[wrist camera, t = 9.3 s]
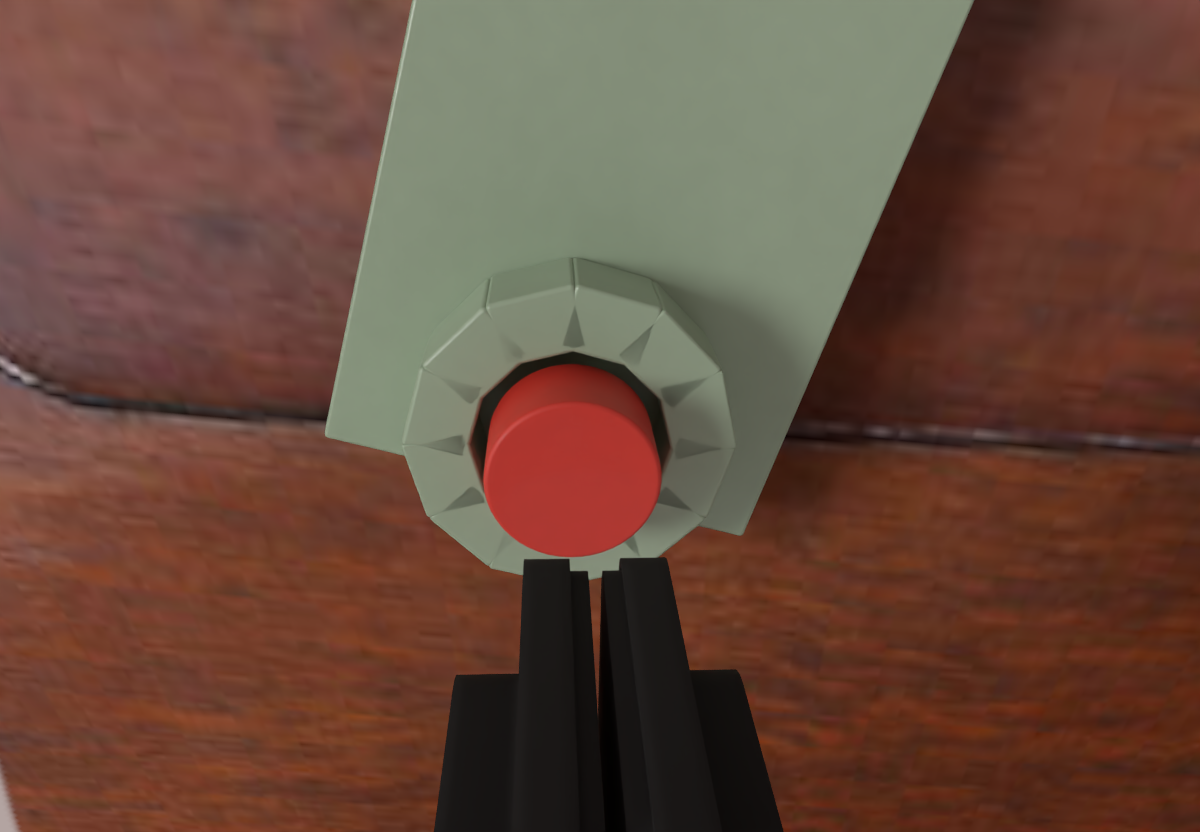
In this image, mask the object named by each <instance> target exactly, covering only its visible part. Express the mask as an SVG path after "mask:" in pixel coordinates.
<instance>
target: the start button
mask: <svg viewBox="0 0 1200 832" xmlns="http://www.w3.org/2000/svg"><path fill="white" fill-rule="evenodd" d="M483 483H484V492H485V496H486V500H487V503H488V506H489V508H490V510H491V512H492V514H493V516H494V517H495V519H496V520H497V522H498V523H499V524H500V525H501V527H502V528H503V529H504V530H505V531H506V532H507V533H508V534H509V535H510V536H511V537H513V538H514V539H515V540H517V541H518V542H519V543H521V544H523V545H525V546H526V547H528V548H530V549H533V550H535V551H538V552H541V553H544V554H548V555H553V556H559V557H584V556H590V555H595V554H598V553H602V552H605V551H607V550H610V549H612V548H614V547H616V546H618V545H620V544H622V543H623V542H625V541H626V540H627V539H629V538H630V537H632V536H633V535H634V534H635V533H636V532H637V531H638V530H639V529H640V528H641V527H642V526H643V525H644V523H645V522H646V521H647V520H648V518H649V516H650V515H651V513H652V512H653V510H654V508H655V506H656V503H657V501H658V497H659V494H660V490H661V483H662V471H661V465H660V459H659V455H658V451H657V447H656V443H655V439H654V435H653V431H652V426H651V422H650V419H649V416H648V412H647V410H646V408H645V406H644V404H643V402H642V401H641V399H640V398H639V396H638V395H637V394H636V393H635V391H634V390H633V389H632V388H631V387H630V386H629V385H627V384H626V383H625V382H624V381H623V380H621V379H620V378H618V377H617V376H615V375H613V374H611V373H609V372H607V371H605V370H602V369H599V368H596V367H592V366H587V365H579V364H563V365H556V366H550V367H547V368H544V369H540V370H538V371H536V372H533V373H531V374H529V375H527V376H526V377H524V378H522V379H521V380H520V381H518V382H517V383H516V384H514V385H513V386H512V387H511V388H510V389H509V390H508V391H507V392H506V393H505V395H504V396H503V397H502V399H501V400H500V401H499V403H498V405H497V407H496V409H495V411H494V413H493V416H492V419H491V422H490V427H489V434H488V442H487V450H486V458H485V466H484V477H483Z"/></svg>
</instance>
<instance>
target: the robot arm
mask: <svg viewBox="0 0 1200 832" xmlns="http://www.w3.org/2000/svg"><path fill="white" fill-rule="evenodd" d="M434 832H783V828H782V824H781V821H780V817H779V813H778V810H777V806H776V802H775V799H774V795H773V791H772V788H771V784H770V781H769V777H768V773H767V770H766V766H765V762H764V759H763V755H762V751H761V748H760V744H759V740H758V737H757V733H756V729H755V726H754V722H753V718H752V715H751V711H750V707H749V704H748V700H747V696H746V693H745V689H744V685H743V682H742V680H741V677H740V674H739V673H738V671H737V670H689V665H688V660H687V655H686V650H685V645H684V640H683V635H682V630H681V625H680V620H679V615H678V610H677V605H676V600H675V596H674V591H673V586H672V581H671V576H670V571H669V566H668V562H667V559H666V558H665V557H662V558H620V561H619V570H611V571H602V582H601V621H600V661H599V700H598V713H597V698H596V683H595V668H594V653H593V638H592V623H591V608H590V593H589V578H588V571H570V559H524V564H523V587H522V611H521V635H520V660H519V674H481V675H456V677H455V680H454V686H453V692H452V700H451V708H450V715H449V723H448V730H447V738H446V745H445V753H444V760H443V768H442V776H441V783H440V791H439V798H438V806H437V813H436V821H435V828H434Z"/></svg>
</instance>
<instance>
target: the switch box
mask: <svg viewBox="0 0 1200 832" xmlns="http://www.w3.org/2000/svg"><path fill="white" fill-rule="evenodd" d="M973 2H974V0H412V4H411V9H410V14H409V19H408V24H407V29H406V34H405V39H404V44H403V49H402V54H401V59H400V64H399V68H398V73H397V78H396V83H395V88H394V93H393V98H392V103H391V108H390V113H389V118H388V123H387V128H386V132H385V137H384V142H383V147H382V152H381V157H380V162H379V167H378V172H377V177H376V182H375V187H374V192H373V197H372V201H371V206H370V211H369V216H368V221H367V226H366V231H365V236H364V241H363V246H362V251H361V256H360V261H359V266H358V270H357V275H356V280H355V285H354V290H353V295H352V300H351V305H350V310H349V315H348V320H347V325H346V330H345V334H344V339H343V344H342V349H341V354H340V359H339V364H338V369H337V374H336V379H335V384H334V389H333V394H332V399H331V403H330V408H329V413H328V418H327V423H326V428H325V436H326V437H328V438H332V439H336V440H341V441H345V442H349V443H353V444H357V445H362V446H366V447H370V448H374V449H378V450H383V451H387V452H391V453H395V454H399V455H404V456H405V457H406V460H407V463H408V466H409V468H410V471H411V474H412V477H413V479H414V482H415V485H416V487H417V490H418V493H419V496H420V498H421V501H422V504H423V507H424V509H425V512H426V515H427V516H428V517H430V518H431V520H432V521H433V522H434V523H436V524H437V525H438V526H439V527H441V528H442V529H443V530H444V531H445V532H447V533H448V534H449V535H450V536H452V537H453V538H454V539H455V540H456V541H458V542H459V543H460V544H461V545H463V546H464V547H465V548H466V549H467V550H469V551H470V552H471V553H472V554H474V555H475V556H476V557H477V558H479V559H480V560H481V561H482V562H483V563H485V564H486V565H489V567H490V568H492V569H497V570H501V571H506V572H510V573H515V574H519V575H523V564H524V559H570V571H588V578H589V580H592V579H596V578H601V577H602V571H611V570H619V561H620V558H658V557H659V556H660V555H661V554H663V553H664V552H665V551H666V550H668V549H669V548H670V547H672V546H673V545H674V544H675V543H677V542H678V541H679V540H680V539H682V538H683V537H684V536H685V535H687V534H688V533H689V532H690V531H692V530H693V529H694V528H695V527H697V526H701V527H706V528H710V529H714V530H718V531H722V532H727V533H731V534H735V535H739V536H740V535H743V533H744V531H745V528H746V526H747V524H748V521H749V519H750V517H751V514H752V512H753V510H754V508H755V505H756V503H757V501H758V498H759V496H760V494H761V491H762V489H763V487H764V484H765V482H766V480H767V478H768V475H769V473H770V471H771V468H772V466H773V464H774V461H775V459H776V457H777V454H778V452H779V450H780V447H781V445H782V443H783V441H784V438H785V436H786V434H787V431H788V429H789V427H790V424H791V422H792V420H793V417H794V415H795V413H796V411H797V408H798V406H799V404H800V401H801V399H802V397H803V394H804V392H805V390H806V387H807V385H808V383H809V381H810V378H811V376H812V374H813V371H814V369H815V367H816V364H817V362H818V360H819V357H820V355H821V353H822V351H823V348H824V346H825V344H826V341H827V339H828V337H829V334H830V332H831V330H832V327H833V325H834V323H835V321H836V318H837V316H838V314H839V311H840V309H841V307H842V304H843V302H844V300H845V297H846V295H847V293H848V291H849V288H850V286H851V284H852V281H853V279H854V277H855V274H856V272H857V270H858V267H859V265H860V263H861V261H862V258H863V256H864V254H865V251H866V249H867V247H868V244H869V242H870V240H871V237H872V235H873V233H874V231H875V228H876V226H877V224H878V221H879V219H880V217H881V214H882V212H883V210H884V207H885V205H886V203H887V201H888V198H889V196H890V194H891V191H892V189H893V187H894V184H895V182H896V180H897V177H898V175H899V173H900V171H901V168H902V166H903V164H904V161H905V159H906V157H907V154H908V152H909V150H910V147H911V145H912V143H913V140H914V138H915V136H916V134H917V131H918V129H919V127H920V124H921V122H922V120H923V117H924V115H925V113H926V110H927V108H928V106H929V104H930V101H931V99H932V97H933V94H934V92H935V90H936V87H937V85H938V83H939V80H940V78H941V76H942V74H943V71H944V69H945V67H946V64H947V62H948V60H949V57H950V55H951V53H952V50H953V48H954V46H955V44H956V41H957V39H958V37H959V34H960V32H961V30H962V27H963V25H964V23H965V20H966V18H967V16H968V14H969V11H970V9H971V7H972V4H973ZM563 364H579V365H587V366H592V367H596V368H599V369H602V370H605V371H607V372H609V373H611V374H613V375H615V376H617V377H618V378H620V379H621V380H623V381H624V382H625V383H626V384H627V385H629V386H630V387H631V388H632V389H633V390H634V391H635V393H636V394H637V395H638V396H639V398H640V399H641V401H642V402H643V404H644V406H645V408H646V410H647V412H648V416H649V419H650V422H651V426H652V431H653V435H654V439H655V443H656V447H657V451H658V455H659V459H660V465H661V471H662V483H661V490H660V494H659V497H658V501H657V503H656V506H655V508H654V510H653V512H652V513H651V515H650V516H649V518H648V520H647V521H646V522H645V523H644V525H643V526H642V527H641V528H640V529H639V530H638V531H637V532H636V533H635V534H634V535H633V536H632V537H630V538H629V539H627V540H626V541H625V542H623V543H622V544H620V545H618V546H616V547H614V548H612V549H610V550H607V551H605V552H602V553H598V554H595V555H590V556H584V557H559V556H553V555H548V554H544V553H541V552H538V551H535V550H533V549H530V548H528V547H526V546H525V545H523V544H521V543H519V542H518V541H517V540H515V539H514V538H513V537H511V536H510V535H509V534H508V533H507V532H506V531H505V530H504V529H503V528H502V527H501V525H500V524H499V523H498V522H497V520H496V519H495V517H494V516H493V514H492V512H491V510H490V508H489V506H488V503H487V500H486V496H485V492H484V483H483V477H484V466H485V458H486V450H487V442H488V434H489V427H490V422H491V419H492V416H493V413H494V411H495V409H496V407H497V405H498V403H499V401H500V400H501V399H502V397H503V396H504V395H505V393H506V392H507V391H508V390H509V389H510V388H511V387H512V386H513V385H514V384H516V383H517V382H518V381H520V380H521V379H522V378H524V377H526V376H527V375H529V374H531V373H533V372H536V371H538V370H540V369H544V368H547V367H550V366H556V365H563Z"/></svg>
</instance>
